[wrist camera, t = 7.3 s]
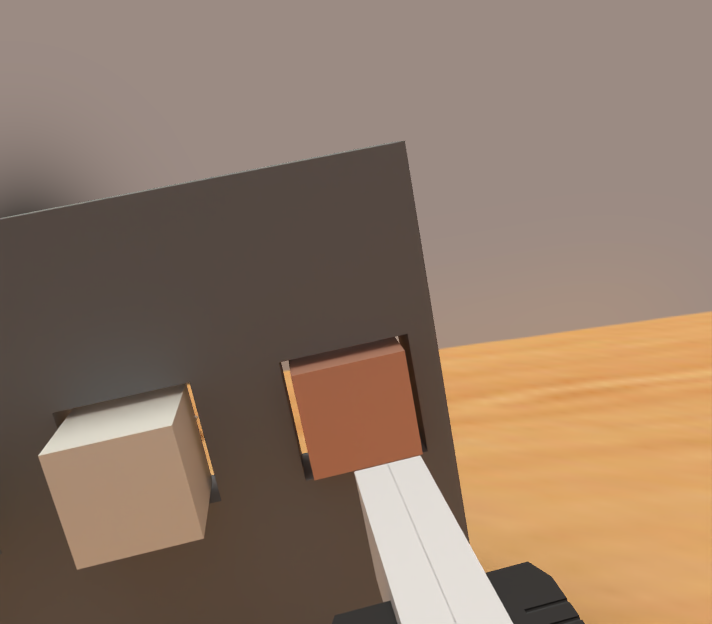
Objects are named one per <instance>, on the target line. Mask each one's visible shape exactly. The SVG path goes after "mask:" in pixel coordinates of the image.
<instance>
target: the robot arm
mask: <svg viewBox="0 0 712 624" xmlns="http://www.w3.org/2000/svg"><path fill="white" fill-rule="evenodd" d="M354 474H355V479H356V483H357V488H358V493H359V498H360V503H361V507H362V512H363V517H364V522H365V526H366V531H367V536H368V541H369V546H370V550H371V555H372V560H373V565H374V570H375V574H376V579H377V582H378V586H379V589H380V593H381V596H382V600H383V603H379V604H375V605H372V606H368V607H364V608H360V609H357V610H353V611H349V612H345V613H342V614H338V615H335V616H334V619H333V622H332V624H585V623H584V622H583V621H582V620H580V618H579V615H578V613H577V612H576V611H575V609H574V608H573V606H572V605H571V604H570V602H568V601H567V598H566V596H565V595H564V594H563V592H562V591H561V589H560V588H559V587H558V585H557V584H556V582H555V581H554V579H553V578H552V577H551V576H550V575H548V574H546V573H545V572H543V571H542V570H540V569H539V568H537V567H535V566H534V565H532V564H531V563H529V562H525V563H521V564H517V565H514V566H510V567H506V568H502V569H499V570H495V571H491V572H487V573H485V572H484V570H483V568H482V566H481V564H480V562H479V561H478V559H477V557H476V555H475V553H474V552H473V550H472V548H471V546H470V544H469V543H468V541H467V539H466V537H465V535H464V533H463V532H462V530H461V528H460V526H459V524H458V523H457V521H456V519H455V517H454V515H453V514H452V512H451V510H450V508H449V506H448V504H447V503H446V501H445V499H444V497H443V495H442V494H441V492H440V490H439V488H438V486H437V485H436V483H435V481H434V479H433V477H432V475H431V474H430V472H429V470H428V468H427V466H426V465H425V463H424V461H423V459H422V457H421V456H416V457H412V458H408V459H404V460H399V461H395V462H391V463H387V464H383V465H379V466H375V467H371V468H367V469H363V470H359V471H355V472H354Z"/></svg>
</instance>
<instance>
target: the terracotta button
mask: <svg viewBox="0 0 712 624" xmlns="http://www.w3.org/2000/svg"><path fill="white" fill-rule="evenodd" d="M289 366H290V373H291V379H292V383H293V388H294V392H295V397H296V401H297V405H298V410H299V414H300V419H301V423H302V428H303V432H304V437H305V441H306V445H307V450H308V454H309V459H310V463H311V468H312V472H313V477H314V480H318V479H323V478H327V477H331V476H335V475H339V474H343V473H347V472H352V471H356V470H360V469H364V468H368V467H372V466H376V465H381V464H385V463H389V462H393V461H397V460H401V459H406V458H410V457H414V456H418V455H422V454H423V452H422V446H421V440H420V435H419V429H418V423H417V418H416V412H415V406H414V400H413V395H412V389H411V383H410V378H409V372H408V366H407V360H406V355H405V350H404V349H403V348H402V346H401V345H400V344H399V342H398V341H397V340H396V338H395V337H391V338H386V339H382V340H377V341H373V342H368V343H364V344H359V345H355V346H350V347H346V348H341V349H337V350H332V351H328V352H323V353H319V354H314V355H310V356H305V357H301V358H296V359H292V360H289Z"/></svg>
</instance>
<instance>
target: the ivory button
mask: <svg viewBox="0 0 712 624" xmlns="http://www.w3.org/2000/svg"><path fill="white" fill-rule="evenodd" d="M38 457H39V460H40V463H41V466H42V469H43V472H44V475H45V478H46V481H47V484H48V486H49V489H50V492H51V495H52V498H53V501H54V504H55V507H56V510H57V513H58V516H59V518H60V521H61V524H62V527H63V530H64V533H65V536H66V539H67V542H68V545H69V548H70V551H71V553H72V556H73V559H74V562H75V565H76V568H77V570H78V569H82V568H86V567H90V566H94V565H98V564H103V563H107V562H111V561H115V560H119V559H123V558H127V557H131V556H135V555H139V554H143V553H147V552H151V551H155V550H160V549H164V548H168V547H172V546H176V545H180V544H184V543H188V542H192V541H196V540H200V539H204V534H205V527H206V520H207V513H208V507H209V500H210V493H211V486H212V477H211V473H210V470H209V466H208V462H207V459H206V455H205V451H204V447H203V444H202V440H201V436H200V433H199V429H198V425H197V422H196V418H195V414H194V410H193V407H192V403H191V399H190V396H189V392H188V388H187V384H186V383H184V384H180V385H175V386H171V387H166V388H162V389H157V390H153V391H148V392H144V393H139V394H135V395H130V396H126V397H121V398H117V399H112V400H108V401H103V402H99V403H94V404H90V405H85V406H81V407H76V408H73V409H72V411H71V412H70V413H69V415H68V416H67V417H66V419H65V420H64V422H63V423H62V424H61V426H60V427H59V428H58V430H57V431H56V432H55V434H54V435H53V436H52V438H51V439H50V440H49V442H48V443H47V444H46V446H45V447H44V449H43V450H42V451H41V453H40V454H39V455H38Z"/></svg>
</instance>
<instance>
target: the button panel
mask: <svg viewBox="0 0 712 624" xmlns="http://www.w3.org/2000/svg"><path fill="white" fill-rule="evenodd" d="M395 336H398V337H399V343H400V345H401V346H402V348H403V349H404V350H405V355H406V360H407V366H408V372H409V378H410V383H411V389H412V395H413V400H414V406H415V412H416V418H417V423H418V429H419V435H420V440H421V446H422V452H423V454H422V455H418V456H421V457H422V459H423V461H424V463H425V465H426V466H427V468H428V470H429V472H430V474H431V475H432V477H433V479H434V481H435V483H436V485H437V486H438V488H439V490H440V492H441V494H442V495H443V497H444V499H445V501H446V503H447V504H448V506H449V508H450V510H451V512H452V514H453V515H454V517H455V519H456V521H457V523H458V524H459V526H460V528H461V530H462V532H463V533H464V535H465V537H466V539H467V541H468V543H469V537H468V531H467V525H466V519H465V512H464V506H463V500H462V494H461V488H460V481H459V475H458V469H457V463H456V456H455V450H454V444H453V438H452V432H451V425H450V419H449V413H448V407H447V401H446V394H445V388H444V382H443V376H442V369H441V363H440V357H439V351H438V345H437V339H436V332H435V326H434V320H433V314H432V308H431V302H430V295H429V289H428V283H427V277H426V270H425V264H424V258H423V252H422V245H421V239H420V233H419V227H418V220H417V214H416V208H415V202H414V195H413V189H412V183H411V177H410V171H409V164H408V158H407V153H406V146H405V141H401V142H391V143H386V144H381V145H376V146H370V147H365V148H360V149H355V150H350V151H345V152H340V153H334V154H330V155H324V156H319V157H314V158H309V159H303V160H299V161H293V162H288V163H283V164H278V165H272V166H267V167H263V168H257V169H252V170H247V171H242V172H236V173H232V174H226V175H222V176H216V177H211V178H205V179H201V180H195V181H190V182H185V183H180V184H174V185H169V186H164V187H159V188H154V189H149V190H143V191H138V192H134V193H129V194H123V195H118V196H113V197H108V198H102V199H97V200H92V201H87V202H82V203H77V204H72V205H66V206H61V207H56V208H51V209H45V210H40V211H36V212H30V213H25V214H20V215H15V216H9V217H5V218H0V624H332V622H333V619H334V616H335V615H338V614H342V613H345V612H349V611H353V610H357V609H360V608H364V607H368V606H372V605H375V604H379V603H383V600H382V596H381V593H380V589H379V586H378V582H377V579H376V574H375V570H374V565H373V560H372V555H371V550H370V546H369V541H368V536H367V531H366V526H365V522H364V517H363V512H362V507H361V503H360V498H359V493H358V488H357V483H356V479H355V474H354V472H355V471H352V472H347V473H343V474H339V475H335V476H331V477H327V478H323V479H318V480H314V477H313V472H312V468H311V463H310V459H309V454H308V453H304V454H302V452H301V448H300V444H299V439H298V435H297V430H296V426H295V422H294V417H293V413H292V409H291V404H290V400H289V395H288V391H287V387H286V382H285V378H284V373H283V369H282V365H281V362H283V361H287V360H292V359H296V358H301V357H305V356H310V355H314V354H319V353H323V352H328V351H332V350H337V349H341V348H346V347H350V346H355V345H359V344H364V343H368V342H373V341H377V340H382V339H386V338H391V337H395ZM189 382H190V385H191V389H192V393H193V396H194V400H195V404H196V408H197V411H198V415H199V419H200V423H201V426H202V430H203V434H204V437H205V441H206V445H207V449H208V452H209V456H210V460H211V464H212V467H213V471H214V475H211V477H212V486H211V493H210V500H209V507H208V513H207V520H206V527H205V534H204V539H200V540H196V541H192V542H188V543H184V544H180V545H176V546H172V547H168V548H164V549H160V550H155V551H151V552H147V553H143V554H139V555H135V556H131V557H127V558H123V559H119V560H115V561H111V562H107V563H103V564H98V565H94V566H90V567H86V568H82V569H78V570H77V568H76V565H75V562H74V559H73V556H72V553H71V551H70V548H69V545H68V542H67V539H66V536H65V533H64V530H63V527H62V524H61V521H60V518H59V516H58V513H57V510H56V507H55V504H54V501H53V498H52V495H51V492H50V489H49V486H48V484H47V481H46V478H45V475H44V472H43V469H42V466H41V463H40V460H39V457H38V455H39V454H40V453H41V451H42V450H43V449H44V447H45V446H46V444H47V443H48V442H49V440H50V439H51V438H52V436H53V435H54V434H55V432H56V431H57V430H58V428H59V427H60V426H61V424H62V423H63V422H64V420H65V419H66V417H67V416H68V415H69V413H70V412H71V411H72V409H73V408H76V407H81V406H85V405H90V404H94V403H99V402H103V401H108V400H112V399H117V398H121V397H126V396H130V395H135V394H139V393H144V392H148V391H153V390H157V389H162V388H166V387H171V386H175V385H180V384H184V383H189ZM414 457H416V456H414ZM410 458H412V457H410ZM406 459H408V458H406ZM401 460H404V459H401ZM397 461H399V460H397ZM393 462H395V461H393ZM389 463H391V462H389ZM385 464H387V463H385ZM381 465H383V464H381ZM376 466H379V465H376ZM372 467H375V466H372ZM368 468H371V467H368ZM364 469H367V468H364ZM360 470H363V469H360ZM356 471H359V470H356ZM469 544H470V543H469Z"/></svg>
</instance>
